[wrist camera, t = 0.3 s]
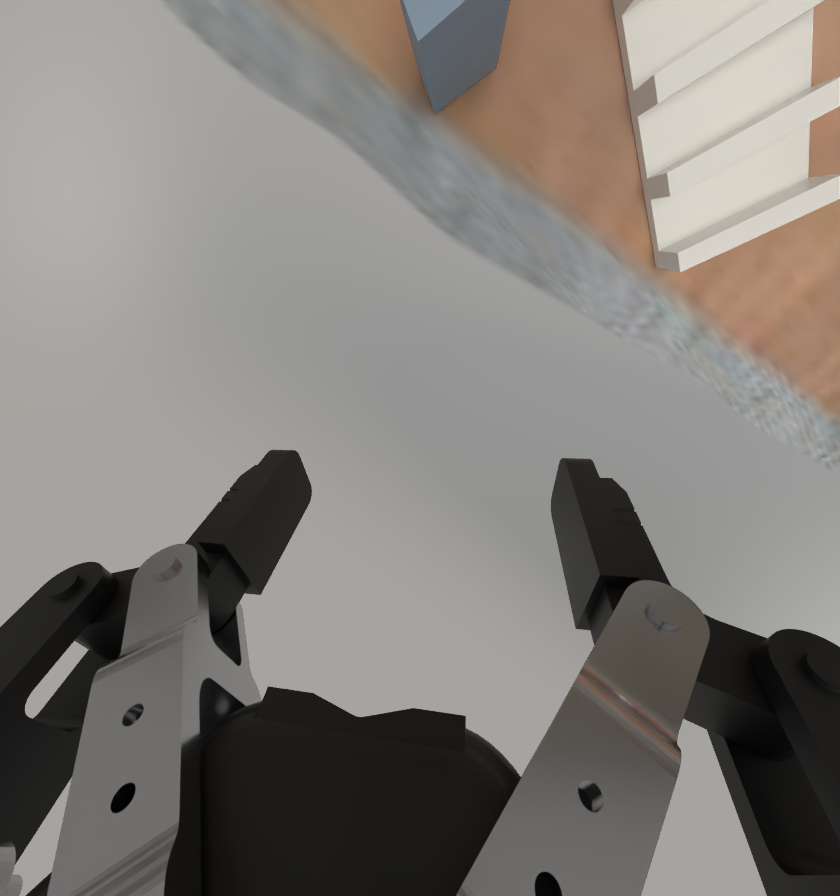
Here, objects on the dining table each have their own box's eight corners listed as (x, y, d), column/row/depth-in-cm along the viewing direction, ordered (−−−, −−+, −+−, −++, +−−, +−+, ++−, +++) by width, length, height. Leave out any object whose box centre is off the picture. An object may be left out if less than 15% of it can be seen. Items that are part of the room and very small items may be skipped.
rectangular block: (435, 114, 26) (418, 41, 16) (419, 74, 25) (391, -32, 15) (496, 67, 24) (519, -47, 14) (482, 22, 23) (498, -137, 13)
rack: (656, 267, 30) (680, 272, 26) (611, -7, 22) (637, -50, 19) (796, 200, 26) (844, 196, 23) (802, -152, 19) (877, -235, 15)
